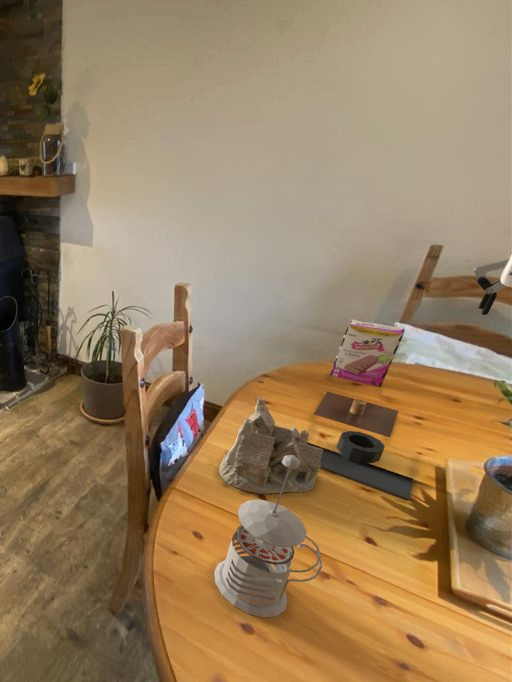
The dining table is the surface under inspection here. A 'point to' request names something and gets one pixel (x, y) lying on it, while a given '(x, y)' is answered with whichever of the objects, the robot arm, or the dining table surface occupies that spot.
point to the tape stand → (357, 413)
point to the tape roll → (360, 448)
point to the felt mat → (367, 474)
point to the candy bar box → (367, 352)
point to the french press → (263, 555)
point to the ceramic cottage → (269, 456)
